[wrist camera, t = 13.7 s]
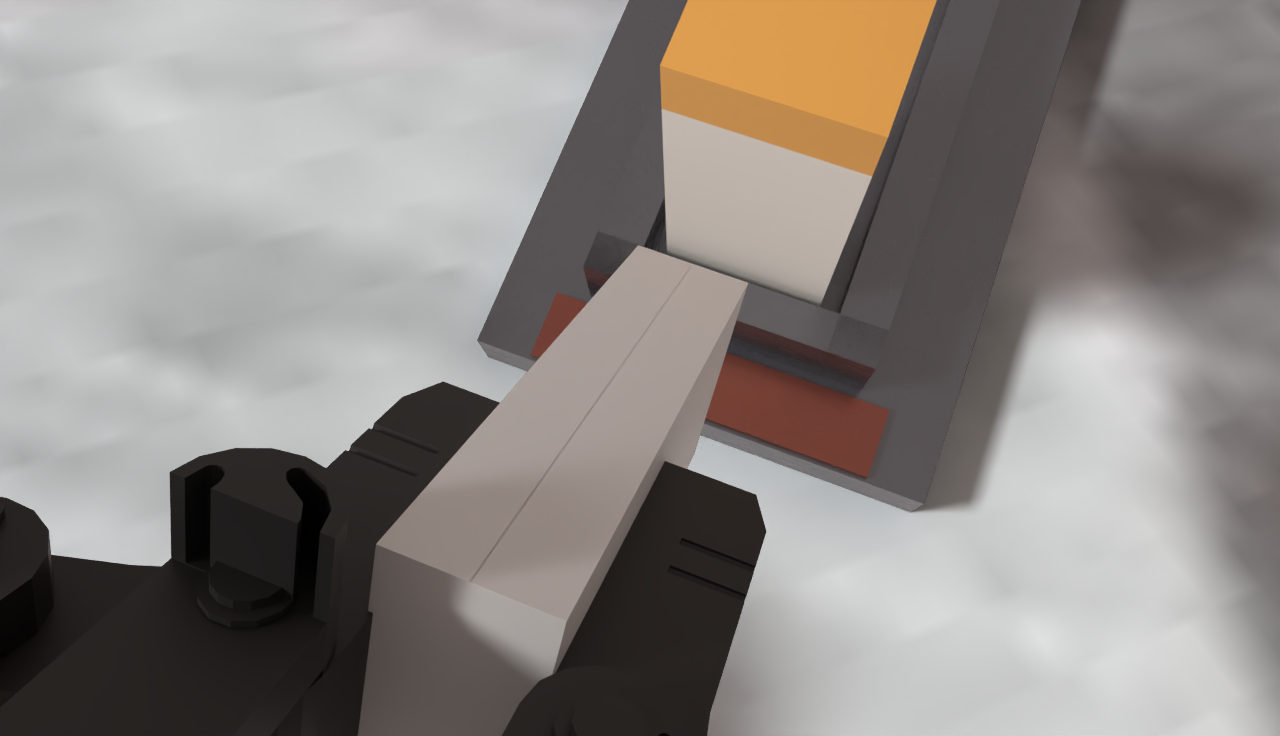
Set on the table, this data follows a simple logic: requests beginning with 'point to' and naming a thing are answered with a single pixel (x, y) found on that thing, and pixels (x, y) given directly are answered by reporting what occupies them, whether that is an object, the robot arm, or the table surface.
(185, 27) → the table surface
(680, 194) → the toggle
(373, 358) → the table surface
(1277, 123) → the table surface
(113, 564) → the robot arm
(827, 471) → the dark gray tray
